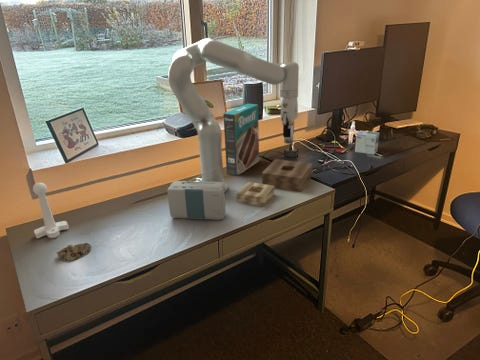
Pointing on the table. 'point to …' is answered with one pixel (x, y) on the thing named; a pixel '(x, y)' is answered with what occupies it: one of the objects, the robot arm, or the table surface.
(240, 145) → the cake mix box
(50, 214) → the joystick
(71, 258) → the mineral rock
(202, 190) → the stereo radio cassette player
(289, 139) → the orange capped bottle
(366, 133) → the light bulb box
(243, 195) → the stand
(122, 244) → the table surface
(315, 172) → the hacksaw
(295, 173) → the block
